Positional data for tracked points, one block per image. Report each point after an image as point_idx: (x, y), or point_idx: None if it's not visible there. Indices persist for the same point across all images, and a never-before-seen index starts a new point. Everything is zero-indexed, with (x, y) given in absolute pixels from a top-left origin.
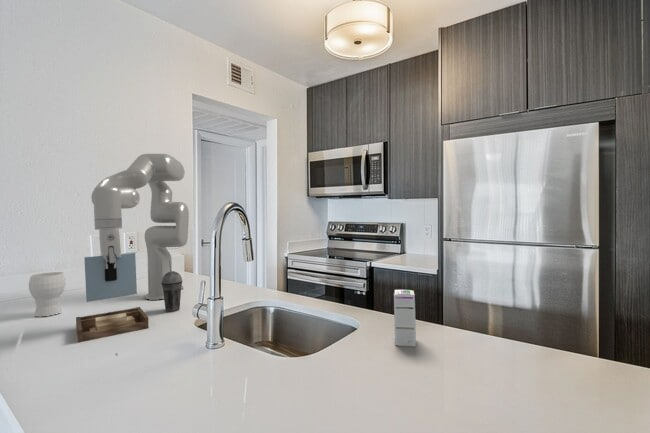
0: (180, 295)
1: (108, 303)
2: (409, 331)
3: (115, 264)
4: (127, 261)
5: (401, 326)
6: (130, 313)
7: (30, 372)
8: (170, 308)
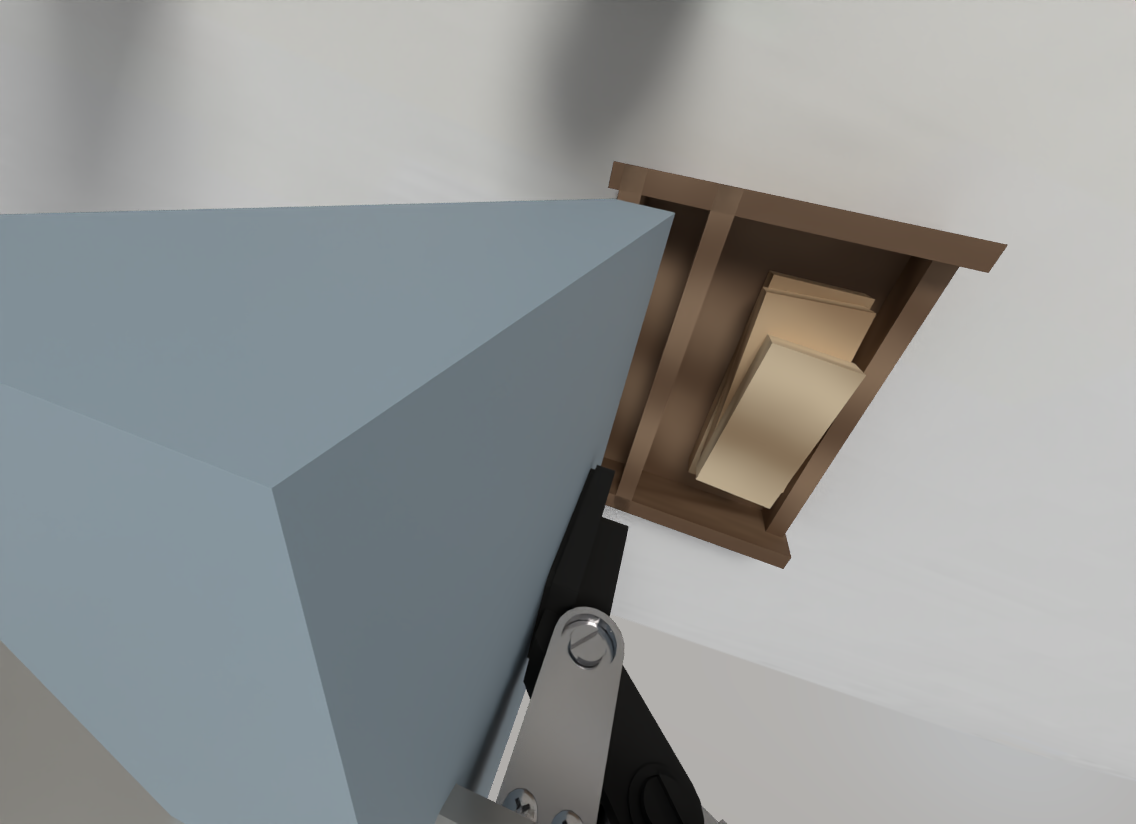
0: None
1: (182, 177)
2: None
3: (615, 711)
4: (543, 513)
5: None
6: (710, 277)
7: (880, 665)
8: None
